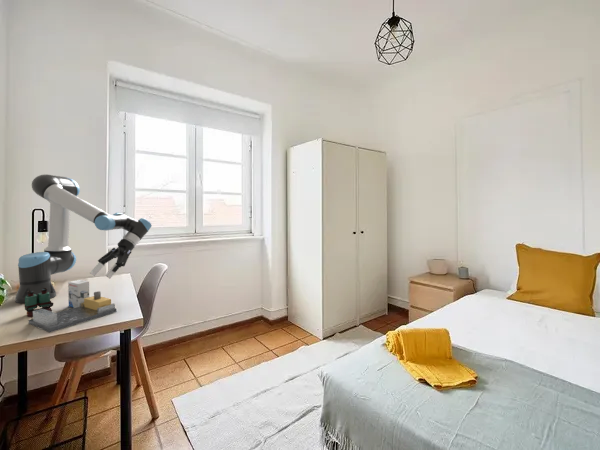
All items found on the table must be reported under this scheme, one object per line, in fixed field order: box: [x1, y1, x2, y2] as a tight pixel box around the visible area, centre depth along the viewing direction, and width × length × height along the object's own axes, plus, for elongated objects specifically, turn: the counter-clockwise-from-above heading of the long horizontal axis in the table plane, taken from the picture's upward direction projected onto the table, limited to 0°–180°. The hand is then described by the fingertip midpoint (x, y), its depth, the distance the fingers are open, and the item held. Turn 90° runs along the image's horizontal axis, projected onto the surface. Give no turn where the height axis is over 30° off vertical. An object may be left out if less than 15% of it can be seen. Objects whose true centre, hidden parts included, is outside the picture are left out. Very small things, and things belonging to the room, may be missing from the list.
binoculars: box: [24, 288, 55, 318], centre depth 120 cm, size 9×11×10 cm
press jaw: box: [84, 290, 112, 310], centre depth 123 cm, size 12×5×7 cm, turn 63°
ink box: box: [67, 279, 90, 308], centre depth 130 cm, size 9×5×12 cm, turn 65°
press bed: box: [27, 302, 117, 333], centre depth 116 cm, size 18×24×6 cm
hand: (99, 275), depth 137 cm, fingers open, 13 cm apart
